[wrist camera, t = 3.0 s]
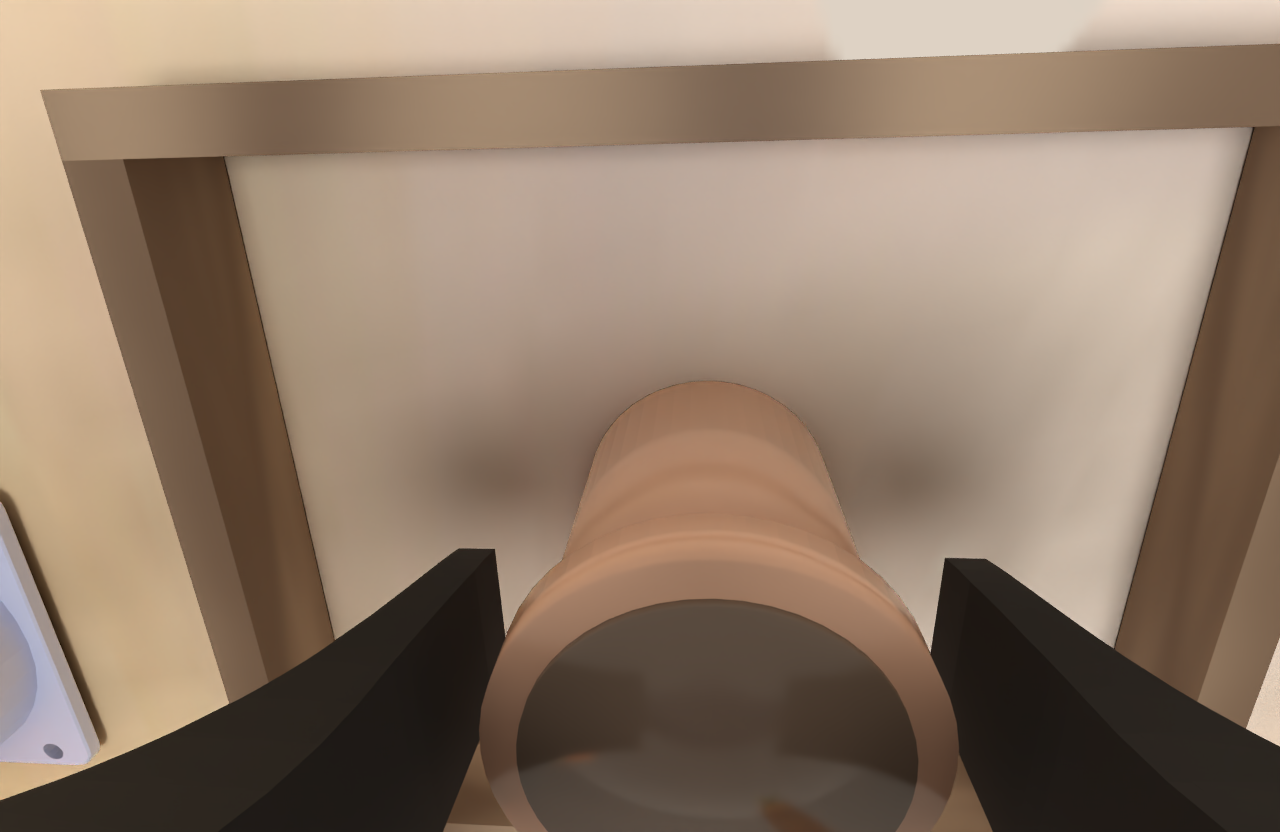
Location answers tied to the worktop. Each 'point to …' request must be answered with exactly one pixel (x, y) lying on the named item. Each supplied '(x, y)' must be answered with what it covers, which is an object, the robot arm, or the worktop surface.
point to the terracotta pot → (715, 646)
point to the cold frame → (662, 114)
